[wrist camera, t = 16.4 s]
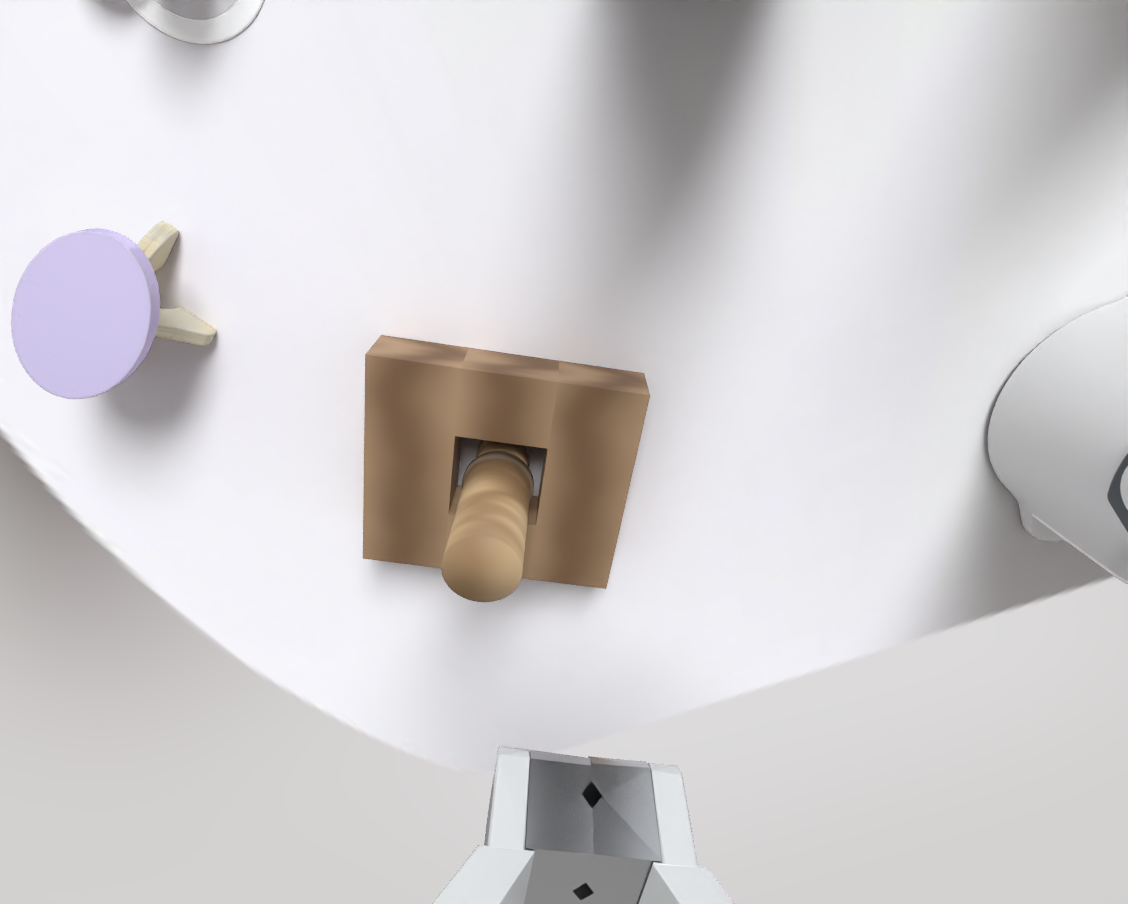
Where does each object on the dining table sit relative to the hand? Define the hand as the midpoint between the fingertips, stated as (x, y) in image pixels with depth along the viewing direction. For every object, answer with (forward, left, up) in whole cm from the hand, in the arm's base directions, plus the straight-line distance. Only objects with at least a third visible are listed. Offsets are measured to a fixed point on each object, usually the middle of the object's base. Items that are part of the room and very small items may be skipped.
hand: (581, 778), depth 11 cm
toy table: (+25, +3, -31) cm, 40 cm away
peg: (+3, +11, -31) cm, 33 cm away
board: (+3, +11, -31) cm, 33 cm away
